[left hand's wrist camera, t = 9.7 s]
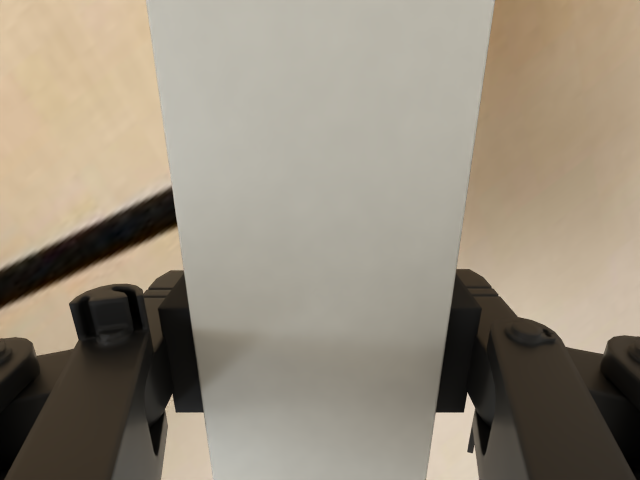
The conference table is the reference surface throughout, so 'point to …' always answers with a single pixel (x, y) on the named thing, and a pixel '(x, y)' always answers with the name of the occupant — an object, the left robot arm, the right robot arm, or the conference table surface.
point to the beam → (320, 220)
